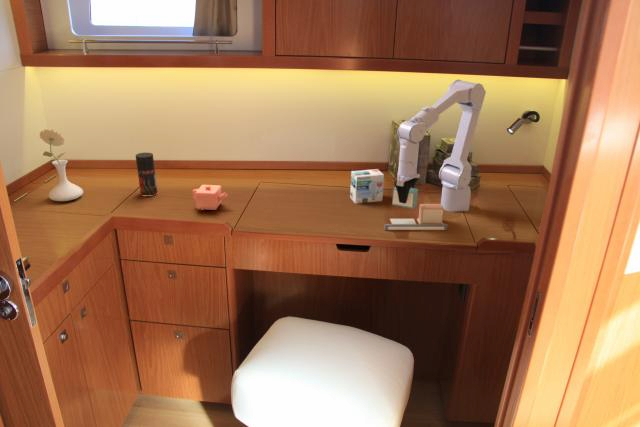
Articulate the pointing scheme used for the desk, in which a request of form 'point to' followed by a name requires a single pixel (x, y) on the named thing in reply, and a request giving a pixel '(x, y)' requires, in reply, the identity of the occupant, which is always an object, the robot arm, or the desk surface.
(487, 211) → the desk surface
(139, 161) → the deodorant
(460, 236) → the desk surface
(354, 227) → the desk surface
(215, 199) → the pink cube teapot
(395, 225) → the shelf board
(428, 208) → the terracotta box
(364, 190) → the light bulb box
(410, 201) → the teal box
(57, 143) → the flower in vase
